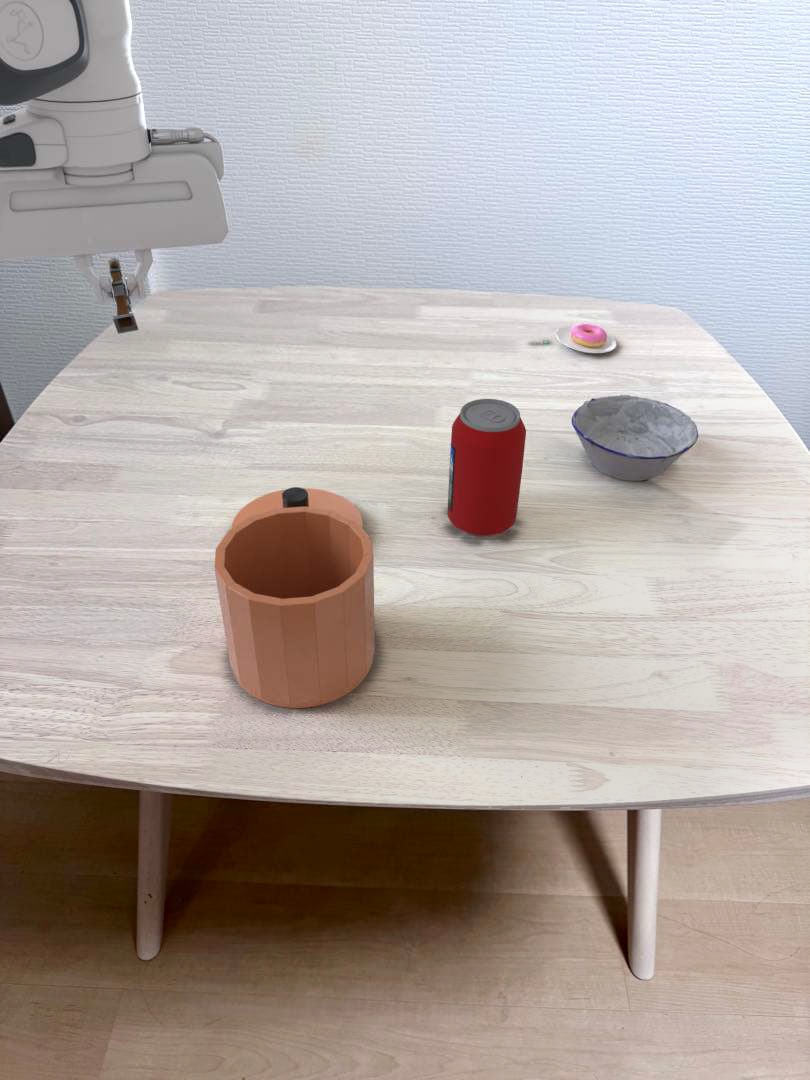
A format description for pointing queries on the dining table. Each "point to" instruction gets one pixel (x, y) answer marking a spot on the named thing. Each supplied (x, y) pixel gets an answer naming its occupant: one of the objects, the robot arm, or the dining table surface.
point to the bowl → (633, 435)
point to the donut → (586, 338)
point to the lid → (299, 503)
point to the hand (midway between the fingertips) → (121, 298)
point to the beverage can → (485, 467)
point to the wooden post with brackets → (121, 300)
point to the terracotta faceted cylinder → (297, 605)
